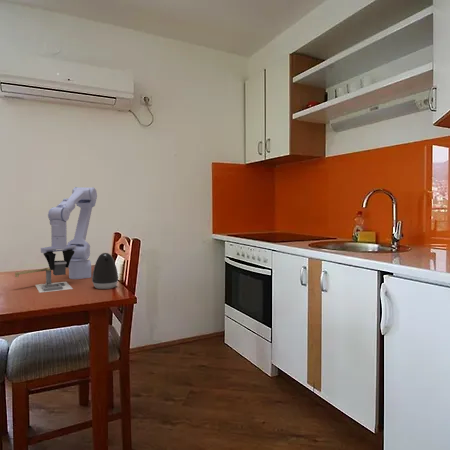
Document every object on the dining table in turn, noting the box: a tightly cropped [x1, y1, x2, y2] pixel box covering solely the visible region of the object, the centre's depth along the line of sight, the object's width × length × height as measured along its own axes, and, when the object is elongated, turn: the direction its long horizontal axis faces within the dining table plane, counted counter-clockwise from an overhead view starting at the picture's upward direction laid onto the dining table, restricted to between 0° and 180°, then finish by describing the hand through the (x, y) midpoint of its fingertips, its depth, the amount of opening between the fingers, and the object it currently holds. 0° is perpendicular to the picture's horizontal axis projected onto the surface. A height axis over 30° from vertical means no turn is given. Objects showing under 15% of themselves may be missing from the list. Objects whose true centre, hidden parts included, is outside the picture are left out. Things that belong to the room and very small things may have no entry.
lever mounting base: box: [35, 270, 74, 294], centre depth 144 cm, size 12×15×7 cm
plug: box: [52, 259, 67, 276], centre depth 146 cm, size 5×5×6 cm
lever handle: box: [14, 267, 50, 278], centre depth 144 cm, size 3×14×2 cm, turn 145°
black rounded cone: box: [91, 252, 119, 290], centre depth 145 cm, size 10×10×15 cm
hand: (59, 268), depth 146 cm, fingers closed on plug, 6 cm apart
